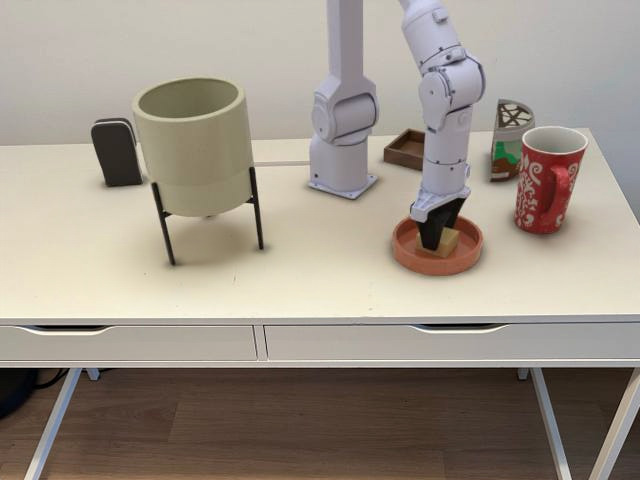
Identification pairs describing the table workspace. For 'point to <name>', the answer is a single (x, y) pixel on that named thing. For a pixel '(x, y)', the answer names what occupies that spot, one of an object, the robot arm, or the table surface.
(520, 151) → the food container
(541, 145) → the mug
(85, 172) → the table surface
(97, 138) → the battery charger
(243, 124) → the planter
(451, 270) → the bowl
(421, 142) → the holder
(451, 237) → the block
